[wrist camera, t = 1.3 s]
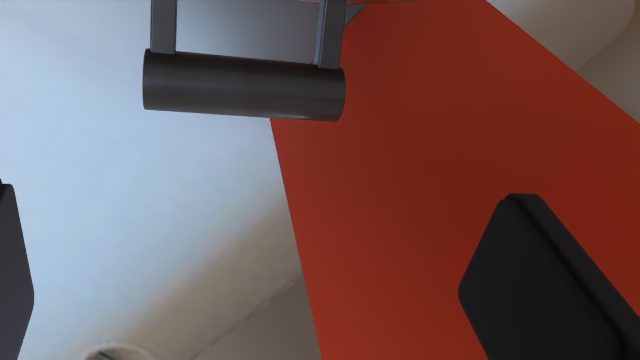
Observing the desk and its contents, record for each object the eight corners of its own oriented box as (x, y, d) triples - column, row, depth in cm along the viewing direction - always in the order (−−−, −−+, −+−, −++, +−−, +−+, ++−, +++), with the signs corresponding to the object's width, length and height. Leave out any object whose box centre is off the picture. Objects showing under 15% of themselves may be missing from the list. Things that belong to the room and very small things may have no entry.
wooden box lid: (-48, -121, 11) (-30, 115, 13) (510, -33, 15) (475, 145, 16) (92, -42, 27) (93, 58, 29) (342, -9, 31) (332, 79, 32)
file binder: (478, 16, 43) (856, 346, 18) (332, 154, 49) (469, 545, 24) (418, -54, 39) (806, 254, 14) (267, 107, 45) (351, 524, 20)
